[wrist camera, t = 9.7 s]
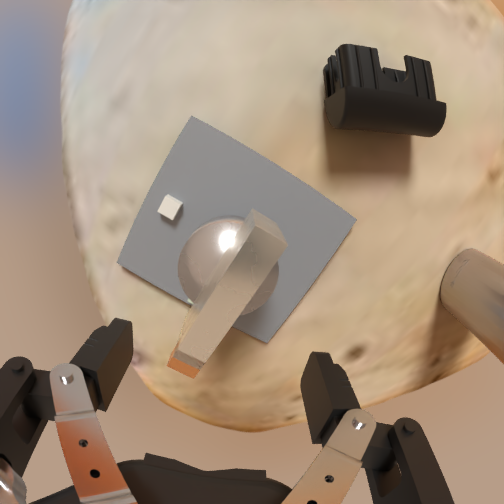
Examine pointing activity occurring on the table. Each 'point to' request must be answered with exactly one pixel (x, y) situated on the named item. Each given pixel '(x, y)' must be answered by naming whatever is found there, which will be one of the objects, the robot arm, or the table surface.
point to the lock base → (238, 204)
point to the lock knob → (224, 281)
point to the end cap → (381, 94)
